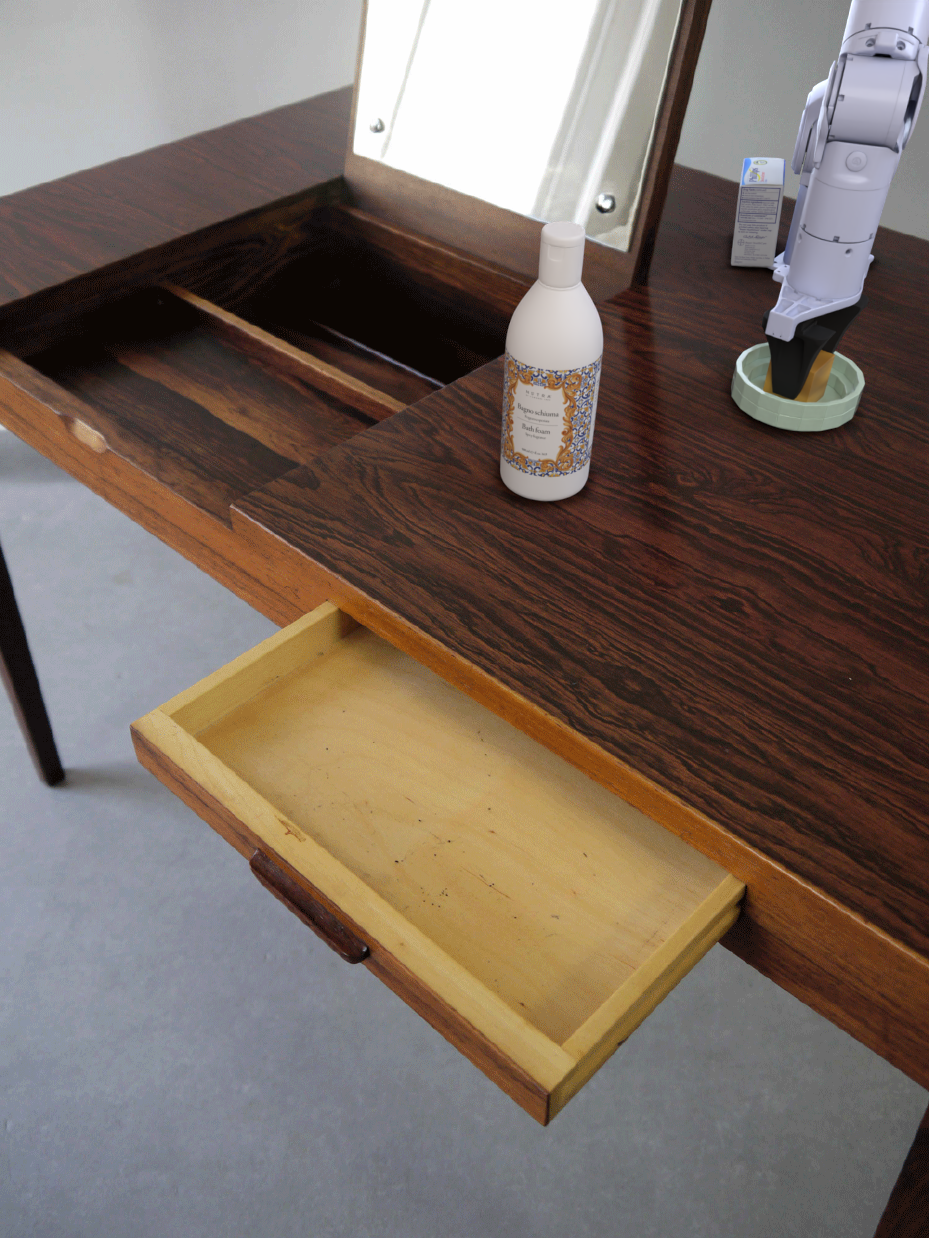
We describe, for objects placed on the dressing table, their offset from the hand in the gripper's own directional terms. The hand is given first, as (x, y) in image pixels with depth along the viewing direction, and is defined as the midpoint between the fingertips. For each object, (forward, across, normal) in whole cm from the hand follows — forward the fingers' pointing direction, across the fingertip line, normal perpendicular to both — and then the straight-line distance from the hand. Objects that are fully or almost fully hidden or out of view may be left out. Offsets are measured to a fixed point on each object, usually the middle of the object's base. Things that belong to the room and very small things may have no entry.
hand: (796, 383), depth 90 cm
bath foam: (+2, +23, -10) cm, 25 cm away
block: (+1, 0, 0) cm, 1 cm away
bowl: (+2, 0, 0) cm, 2 cm away
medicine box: (+2, -25, -17) cm, 30 cm away
